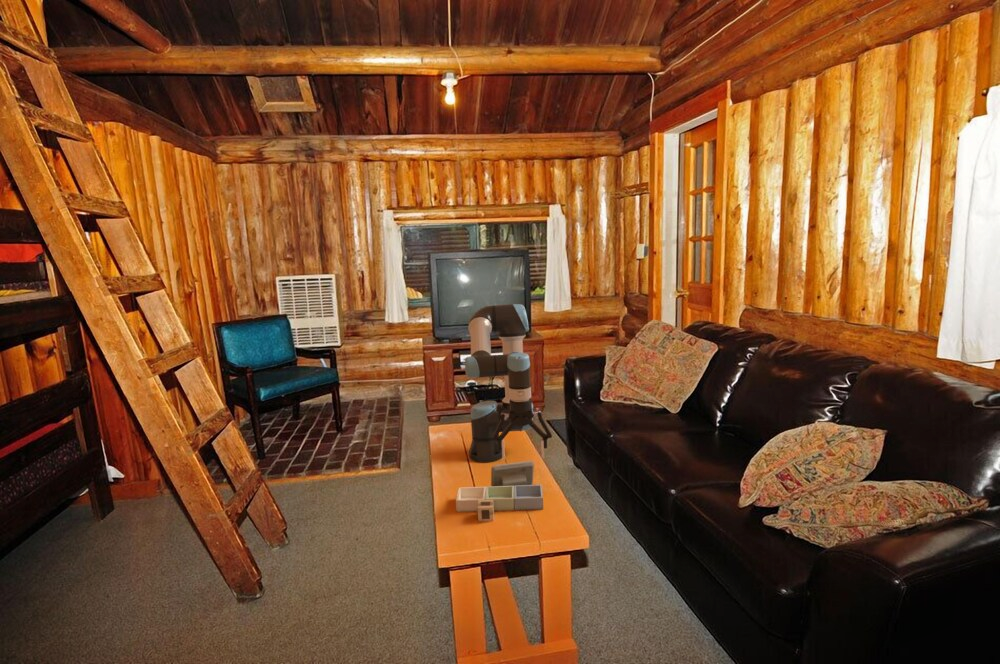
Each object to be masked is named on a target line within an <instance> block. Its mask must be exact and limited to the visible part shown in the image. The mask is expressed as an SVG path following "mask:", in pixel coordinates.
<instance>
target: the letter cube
mask: <svg viewBox="0 0 1000 664" xmlns="http://www.w3.org/2000/svg"><path fill="white" fill-rule="evenodd" d="M477 518H478V522H494V519H495V511H494V501H493V500H479V502H478V511H477Z"/></svg>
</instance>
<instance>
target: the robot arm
mask: <svg viewBox="0 0 1000 664" xmlns="http://www.w3.org/2000/svg"><path fill="white" fill-rule="evenodd" d="M467 327H468V332H469V334H470V356H467V357H465V359H464V369H465V376H466V377H467V378H477V379H478V378H488V377H503V378H504V393H505V394H504V395H505V397H503V399H502V400H501V403H502V404H498V402H497V401H496V400H484V401H481V402H480V401H479V402H477V403H476V404H474V405H473V406H472V407H471V408H470V417H469V419H470V422H471V423H470V424H471V425H470V426H471V443H470V446H469V450H468V457H469V459H470V460H471V461H473V462H477V463H493V462H496V461H499V460H501V459H502V461H505V460H506V455H505V453H506V452H505V440H504V439H505V438H506V436H507V435H508V434H509V432H523V431H530V430H531V429H533V430H534V431H535V433H537V434H538V436H540V437H541V438H540V446H541V448H540V450H541V451H540V452H541V459H543V460H544V459H545V449H548V439H551V438H553V434H552V432H551V430H550V428H549V427H548V425H547V423H546V421H545V419H544V418H543V416H542V411H541V410H537V411H534V404H533V402H532V384H531V363H530V362H531V361H530V355H529V354H528V353H525V352H524V344H523V340H524V339H525V337H526V336H527V335H526V333H527V332H529V331H530V328H529V321H528V314H527V310H526V308H525V306H524V305H523V304H522V303H520V304H519V303H518V304H517V303H516V304H515V303H510V304H498V305H497V304H495V305H486V306H484V307H481V308H480V309H478V310H477V311H476V312H474V313H473V315H471V317H470V319H469V321H468V326H467ZM491 334H498V335H497V336H498V339H500V340H501V343H502V354H492V346H491ZM534 417H535V418H536V419H537V420H538V421H539V423H540V425H541V427H542V429H543V430H544V431H545V432H544V431H543V430H542V429H541V428H540V427H539V426H538V425H537V424H536V423H535V422H534V421H533V420H534Z"/></svg>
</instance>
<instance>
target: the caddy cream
mask: <svg viewBox="0 0 1000 664" xmlns="http://www.w3.org/2000/svg"><path fill="white" fill-rule="evenodd" d="M486 488H487V486H466V487H465V486H464V487H458V491H457V495H456V498H455V507H456V513H470V512H471V513H472V512H478V502H479V500H485V496H486Z"/></svg>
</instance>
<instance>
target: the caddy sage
mask: <svg viewBox="0 0 1000 664" xmlns="http://www.w3.org/2000/svg"><path fill="white" fill-rule="evenodd" d="M485 500H493V501H494V512H496V511H498V512H499V511H504V512H505V511H515V504H514V486H491V485H490V486H486V496H485Z"/></svg>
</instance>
